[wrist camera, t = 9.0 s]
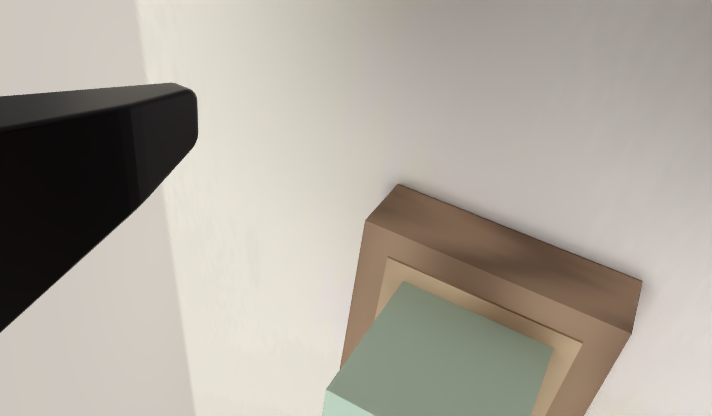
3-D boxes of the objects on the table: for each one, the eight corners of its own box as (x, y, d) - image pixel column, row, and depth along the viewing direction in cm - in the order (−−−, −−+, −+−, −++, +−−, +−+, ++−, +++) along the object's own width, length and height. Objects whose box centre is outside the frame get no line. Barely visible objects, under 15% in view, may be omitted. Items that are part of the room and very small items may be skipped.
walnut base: (642, 281, 23) (631, 335, 20) (555, 436, 29) (539, 492, 26) (397, 184, 26) (363, 221, 23) (365, 342, 32) (336, 384, 29)
